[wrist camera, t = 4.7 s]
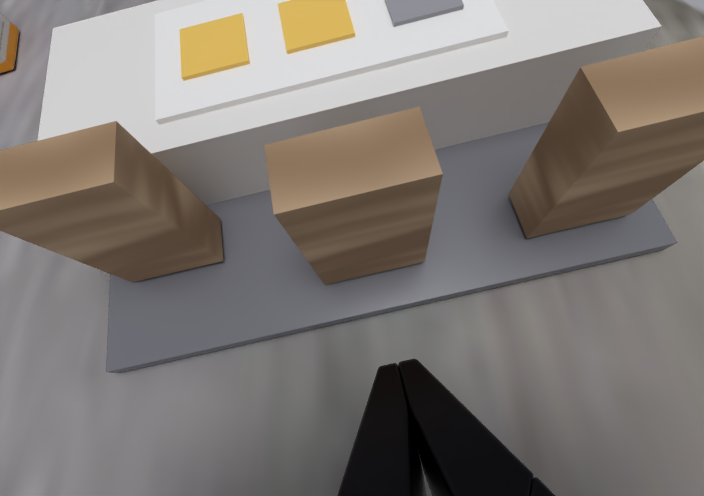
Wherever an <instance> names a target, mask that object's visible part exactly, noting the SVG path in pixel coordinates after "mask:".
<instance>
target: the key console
mask: <svg viewBox="0 0 704 496" xmlns="http://www.w3.org/2000/svg"><path fill="white" fill-rule="evenodd" d="M660 28H661V25H660V23H659V22H658V21H657V19H656V18H655V17H654V15H653V14H652V12H651V11H650V10H649V8H648V7H647V6H646V4H645V3H644V1H643V0H157V1H154V2H150V3H146V4H142V5H139V6H135V7H131V8H127V9H124V10H120V11H116V12H112V13H109V14H105V15H101V16H97V17H94V18H90V19H86V20H82V21H78V22H75V23H71V24H67V25H63V26H60V27H56V28H53V33H52V40H51V48H50V55H49V62H48V69H47V76H46V84H45V91H44V98H43V105H42V112H41V120H40V127H39V134H38V141H39V140H43V139H47V138H51V137H55V136H59V135H63V134H67V133H71V132H74V131H78V130H82V129H86V128H90V127H94V126H98V125H102V124H106V123H110V122H114V121H117V122H118V123H119V124H120V125H121V126H122V127H123V128H124V129H126V130H127V131H128V132H129V133H130V134H131V135H132V136H133V137H134V138H135V139H136V140H137V141H138V142H139V143H140V144H141V145H143V146H144V147H145V148H146V149H147V150H148V151H149V152H150V153H151V154H152V155H153V156H154V157H155V158H156V159H157V160H158V161H160V162H161V163H162V164H163V165H164V166H165V167H166V168H167V169H168V170H169V171H170V172H171V173H172V174H173V175H174V176H175V177H177V178H178V179H179V180H180V181H181V182H182V183H183V184H184V185H185V186H186V187H187V188H188V189H189V190H190V191H191V192H192V193H194V194H195V195H196V196H197V197H198V198H199V199H200V200H201V201H202V202H203V203H204V204H205V205H206V206H207V207H208V208H209V209H211V210H212V211H213V212H214V213H215V214H216V215H217V216H218V217H219V218H220V222H221V234H222V247H223V260H224V261H221V262H217V263H213V264H208V265H204V266H200V267H196V268H191V269H187V270H183V271H179V272H174V273H170V274H166V275H162V276H157V277H153V278H149V279H145V280H140V281H136V282H130V281H127V280H125V279H122V278H120V277H117V276H115V275H112V274H110V290H109V313H108V337H107V360H106V372H112V373H122V372H126V371H131V370H135V369H140V368H144V367H148V366H153V365H157V364H162V363H166V362H171V361H175V360H179V359H184V358H188V357H193V356H197V355H201V354H206V353H210V352H215V351H219V350H224V349H228V348H232V347H237V346H241V345H246V344H250V343H254V342H259V341H263V340H268V339H272V338H277V337H281V336H285V335H290V334H294V333H299V332H303V331H308V330H312V329H316V328H321V327H325V326H330V325H334V324H338V323H343V322H347V321H352V320H356V319H361V318H365V317H369V316H374V315H378V314H383V313H387V312H392V311H396V310H400V309H405V308H409V307H414V306H418V305H422V304H427V303H431V302H436V301H440V300H445V299H449V298H453V297H458V296H462V295H467V294H471V293H475V292H480V291H484V290H489V289H493V288H498V287H502V286H506V285H511V284H515V283H520V282H524V281H529V280H533V279H537V278H542V277H546V276H551V275H555V274H559V273H564V272H568V271H573V270H577V269H582V268H586V267H590V266H595V265H599V264H604V263H608V262H612V261H617V260H621V259H626V258H630V257H635V256H639V255H643V254H648V253H652V252H657V251H661V250H664V249H666V248H668V247H670V246H672V245H674V244H676V243H677V241H676V239H675V237H674V236H673V234H672V232H671V230H670V229H669V227H668V225H667V224H666V222H665V220H664V218H663V217H662V215H661V213H660V211H659V210H658V208H657V206H656V204H655V203H654V201H653V199H651V200H650V201H648V202H647V203H646V204H644V205H643V206H642V207H640V208H639V209H638V210H636V211H635V212H634V213H632V214H630V215H626V216H622V217H617V218H613V219H609V220H604V221H600V222H596V223H591V224H587V225H583V226H578V227H574V228H570V229H565V230H561V231H557V232H552V233H548V234H544V235H539V236H535V237H531V238H526V235H525V233H524V230H523V228H522V225H521V223H520V221H519V218H518V216H517V213H516V211H515V208H514V206H513V204H512V201H511V199H510V196H509V192H510V190H511V189H512V187H513V185H514V183H515V182H516V180H517V178H518V176H519V174H520V173H521V171H522V169H523V167H524V166H525V164H526V162H527V160H528V159H529V157H530V155H531V153H532V152H533V150H534V148H535V146H536V144H537V143H538V141H539V139H540V137H541V136H542V134H543V132H544V130H545V129H546V127H547V125H548V123H549V122H550V120H551V118H552V116H553V114H554V113H555V111H556V109H557V107H558V106H559V104H560V102H561V100H562V99H563V97H564V95H565V93H566V91H567V90H568V88H569V86H570V84H571V83H572V81H573V79H574V77H575V76H576V74H577V72H578V70H579V69H580V67H582V66H586V65H590V64H594V63H598V62H602V61H606V60H610V59H614V58H618V57H622V56H626V55H631V54H635V53H639V52H643V51H644V50H645V48H646V47H647V46H648V44H649V43H650V41H651V40H652V39H653V37H654V36H655V35H656V33H657V32H658V30H659V29H660ZM416 107H420V109H421V112H422V115H423V118H424V121H425V124H426V127H427V129H428V132H429V135H430V138H431V141H432V144H433V147H434V150H435V153H436V156H437V158H438V161H439V164H440V167H441V170H442V173H443V176H442V180H441V185H440V190H439V195H438V200H437V205H436V210H435V215H434V219H433V224H432V229H431V234H430V239H429V244H428V249H427V254H426V258H425V262H422V263H418V264H413V265H409V266H405V267H400V268H396V269H392V270H387V271H383V272H379V273H374V274H370V275H366V276H361V277H357V278H353V279H348V280H344V281H340V282H335V283H331V284H327V285H325V284H324V283H323V281H322V280H321V279H320V277H319V276H318V275H317V273H316V272H315V270H314V269H313V268H312V266H311V265H310V264H309V262H308V261H307V259H306V258H305V257H304V255H303V254H302V253H301V251H300V250H299V248H298V247H297V246H296V244H295V243H294V242H293V240H292V239H291V237H290V236H289V235H288V233H287V232H286V231H285V229H284V228H283V226H282V225H281V224H280V222H279V221H278V220H277V218H276V217H275V215H274V212H273V205H272V198H271V191H270V183H269V176H268V169H267V162H266V155H265V147H264V145H266V144H270V143H274V142H278V141H282V140H286V139H290V138H294V137H298V136H302V135H306V134H310V133H315V132H319V131H323V130H327V129H331V128H335V127H339V126H343V125H347V124H351V123H355V122H359V121H363V120H367V119H371V118H375V117H379V116H383V115H387V114H391V113H395V112H399V111H404V110H408V109H412V108H416Z"/></svg>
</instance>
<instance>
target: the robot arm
mask: <svg viewBox="0 0 704 496" xmlns="http://www.w3.org/2000/svg"><path fill="white" fill-rule="evenodd" d="M398 367H399V368H398ZM399 371H400V372H399ZM418 451H419V452H418ZM419 455H420V456H419ZM420 459H421V461H420ZM421 463H422V466H421ZM422 467H423V470H424V473H425V476H426V479H427V482H428V485H429V488H430V490H431V493H432V496H555V495H554V494H553V493H552V492H551V491H550V490H549V489H548V488H547V487H546V486H545V485H544V484H543V483H542V482H541V481H540V480H539V479H538V478H536V477H535V478H534V476H533V473H532V472H531V471H530V470H529V469H528V468H527V467H526V466H525V465H524V464H523V463H522V462H521V461H520V460H518V459H517V458H516V457H515V456H514V455H513V454H512V453H511V452H510V451H509V450H508V449H507V448H506V447H505V446H504V445H503V444H502V443H501V442H500V441H499V440H498V439H497V438H496V437H495V436H494V435H493V434H492V433H491V432H490V431H489V430H488V429H487V428H486V427H485V426H484V425H483V424H482V423H481V422H480V421H479V420H478V419H477V418H476V417H475V416H474V415H473V414H472V413H471V412H470V411H469V410H468V409H467V408H466V407H465V406H464V405H463V404H462V403H461V402H460V401H459V400H458V399H457V398H456V397H455V396H454V395H453V394H452V393H451V392H450V391H448V390H447V389H446V388H445V387H444V386H443V385H442V384H441V383H440V382H439V381H438V380H437V379H436V378H435V377H434V376H433V375H432V374H431V373H430V372H429V371H428V370H427V369H426V368H425V367H424V366H423V365H422V364H421V363H420V362H419V361H418V360H416V359H411V360H406V361H402V362H399V364H398V365H397V364H396V363H393V364H388V365H384V366H380V367H379V368H378V371H377V374H376V377H375V380H374V383H373V386H372V390H371V393H370V396H369V399H368V402H367V405H366V408H365V411H364V414H363V418H362V421H361V424H360V427H359V430H358V433H357V436H356V439H355V442H354V446H353V449H352V452H351V455H350V458H349V461H348V464H347V467H346V470H345V474H344V477H343V480H342V483H341V486H340V489H339V492H338V495H337V496H426V491H425V483H424V477H423V470H422Z"/></svg>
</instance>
